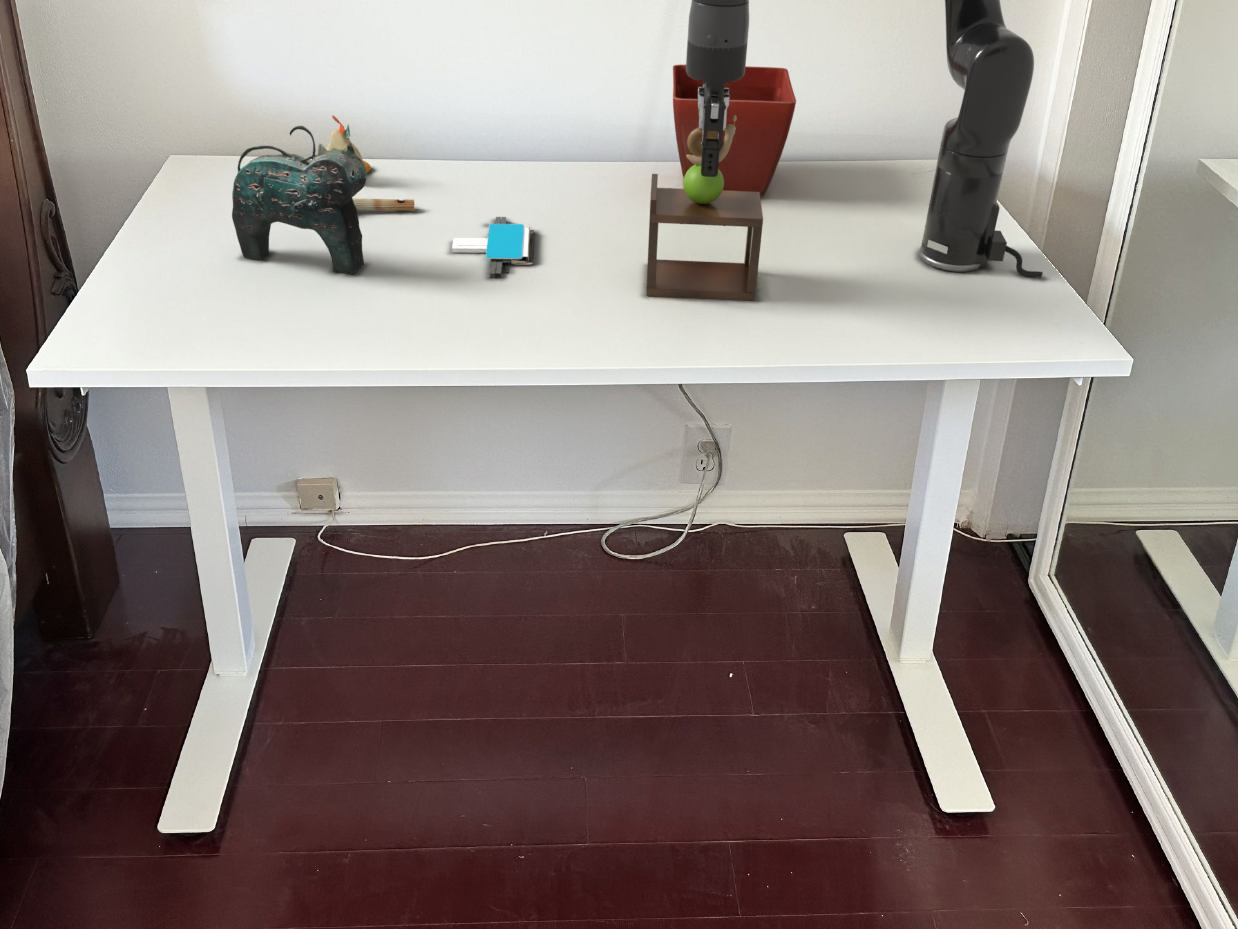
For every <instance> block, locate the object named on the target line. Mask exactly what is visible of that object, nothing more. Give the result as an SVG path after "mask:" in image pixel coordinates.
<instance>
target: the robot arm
mask: <svg viewBox="0 0 1238 929" xmlns="http://www.w3.org/2000/svg"><path fill="white" fill-rule="evenodd" d="M689 8H690V9H689V14H688V26H687V27H688V28H687V41H686V42H687V44H686V58H685V59H686V60H685V65H686V73H687V75H688V76H689V77H691V78H693V79H695V80H698V81H700V80H701V81H703V87H698V107H699V129H700V130H701V131H702V132H703V133H702V142H701V146H702V161H701V175H702V176H704V177H716V176H717V175H718V165H719V152H720V149H722V146H723V142H722V137H723V131H724V130H725V128H726V117H727V108H728V106H729V96H730V95H729V88H724V85H725V84H726V83H728V82H735V81H738V80H740V79H741V78H742V77H743V76H744V74H745V66H746V65H747V52H748V42H749V41H748V40H749V29H750V0H691V4H690V7H689ZM944 11H945V12H944V14H945V16H944V17H945V42H946V43H945V51H946V53H945V54H946V64H947V69H948V71H949V74H950V77H951V78H952V80H953V81H954V83H955V84H956V85H957V86H958V87H959V88H961V89H962V90H964V92H963V95H962V100H961V105H960V108H959V112H958V115H957V116H956V117H953V118H951V119H950V120H948V121H946V123H945V124H944V127H943V130H942V133H941V140H940V145H939V150H938V154H937V155H938V156H937V161H936V165H935V170H934V171H935V172H934V177H933V182H932V188H931V193H930V199H929V204H928V207H927V208H928V209H927V213H926V214H927V215H926V220H925V224H924V229H923V234H922V235H923V236H922V239H921V245H920V248H919V254H918V255H919V258H920V260H921V261H922V262H923V263H925V264H927V265H929V266H931V267H934V268H936V269H938V270H939V269H940V270H943V271H949V272H958V273H959V272H961V273H962V272H972V271H975V270H978V269H987V267H988V262H1003V261H1004V258H1005V254H1006V253H1008V254H1009V255H1012V256H1013V257H1014V259H1015V260H1016V263H1015V269H1016V271H1017V273H1018V274H1019V275H1021V276H1023V277H1027V278H1043V274H1044V272H1043V271H1039V270H1037V271H1036V270H1035V271H1033V270H1026V269H1024V268H1023V257H1022V255H1021V254H1020V253H1019V251H1017V250H1016V249H1014V248H1013V247H1010V246H1009V245H1008V242H1007V240H1006V238H1005V236H1004V235H1003V233H1002V231H1001V230H996V226H997V223H998V217H999V214H1000V210H1001V209H1000V208H1001V207H1000V205H999V204H998V198H999V193H1000V188H1001V183H1002V179H1003V174H1004V172H1005V171H1004V170H1005V165H1006V160H1007V156H1008V153H1009V152H1008V151H1009V148H1010V144H1011V141H1012V139H1013V138H1014V136H1015V135H1016V134H1017V132H1018V130H1019V128H1020V125H1021V122H1022V119H1023V115H1024V111H1025V108H1026V104H1027V101H1028V96H1029V94H1030V89H1031V87H1032V86H1031V85H1032V81H1033V78H1034V70H1035V57H1034V56H1035V55H1034V51H1033V49H1032V47H1031V45H1030V44H1029V42H1028V41H1027V40H1025V38H1023V37H1021V36H1020V35H1018V34H1017V33H1015V32H1013V31H1012V30H1010V29H1008V27H1007V26H1006V24H1005V20H1004V16H1003V11H1002V6H1001V0H944ZM708 131H716V132H717V133H718V138H717V139H707V132H708Z"/></svg>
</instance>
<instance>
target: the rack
mask: <svg viewBox="0 0 1238 929" xmlns="http://www.w3.org/2000/svg"><path fill="white" fill-rule="evenodd" d="M658 176H659V174H658V173H651V186H650V198H649V199H650V200H649V202H650V203H649V220H648V221H649V222H648V224H649V226H648V242H647V243H648V246H647V266H646V267H647V271H646V272H647V274H646V289H645V290H646V293H645V295H646V297H662V298H683V299H684V298H685V299H687V298H688V299H710V300H731V301H752V302H753V301H756V293H757V284H758V274H759V263H760V255H761V254H760V253H761V244H762V236H763V225H764V216H763V208H762V201H761V196H760V193H759V192H748V191H724V190H723V191H722V193H721V194H720V196H719V197H718V198H717V199H716V200H715V201H713V202H711V203H708V204H699V203H696V202H694V201H692V200H691V199H690V198H689V197H688V196H687V195H686V193H685V190H684V188H674V187H658V179H659V178H658ZM659 224H673V225H694V226H695V225H696V226H697V225H698V226H719V227H720V226H721V227H743V228H744V227H745V228H747V229H746V238H745V249H744V261H743V262H724V261H721V262H720V261H702V260H701V261H700V260H681V259H679V260H677V259H658V242H659V241H658V238H659Z"/></svg>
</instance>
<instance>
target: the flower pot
mask: <svg viewBox="0 0 1238 929" xmlns="http://www.w3.org/2000/svg"><path fill="white" fill-rule="evenodd" d="M698 87H703V81H701V80H700V81H698V80H695V79H693V78H691V77H689V76H688V75H687V73H686V64H674V65H673V66H672V108H673V110H672V112H673V121H674V132H675V140H676V145H677V153H678V158H679V163H680V168H681V173H682V177H683V178H684V177H685V174H686V172H687V171H688V170H689V169H690V168H691V167H692V166H693V165H695V164H693V163H692V162H691V161H690V160H689V159H688V158H687V155H688V154H689V155H693V154H692V153H691V152H690V150H689V149H688V145H687V140H688V137H689V135H690V133H691V132H692V131H693V130H694V129H696V128H698V127H699V107H698ZM724 88H729V95H730V96H729V106H728V108H727V117H726V126H727V125H729V124H732V125H734V121H733V116H734V115H735V116H736V121H735V125H734V126H735V127H736V130H735V134H734V136H733V139H732V143H731V146H730V149H729V151H728V153H727V155H726V156H725V158H724V159H723V160H722V161H720V162H719V165H718V169H719V170H720V171H721V173H722V175H723V179H724V187H723V190H724V191H748V192H759V193H760V197H764V196H765V195H766V193H767V191H768V188H769V187H770V185H771V182H772V180H773V178H774V175H775V173H776V170H777V168H778V166H779V163H780V161H781V157H782V154H783V151H784V149H785V146H786V141H787V139H788V136H789V132H790V129H791V126H792V125H791V124H792V121H793V117H794V114H795V110H796V104H797V99H796V96H795V92H794V88H793V85H792V82H791V77H790V72H789V70H788V69H787V68H784V67H775V66H774V67H772V66H745V74H744V76H743V77H742V78H741V79H740V80H738V81H735V82H728V83H726V84H725V85H724ZM724 137H725V130H724V131H723V137H722V142H723V140H724Z"/></svg>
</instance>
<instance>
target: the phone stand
mask: <svg viewBox="0 0 1238 929" xmlns="http://www.w3.org/2000/svg"><path fill="white" fill-rule="evenodd" d="M534 252H535V229H533V228H531V226H530V225H528V226H525V225H524V224H523V223H507V216H495V222H494V223H490V224H489V225H488V233H487V237H486V238H485V237H483V238H482V237H474V238H473V237H454V238H453V240H452V245H451V253H469V254H470V253H471V254H472V253H475V254H476V253H477V254H478V253H480V254H484V253H485V259H486V260H490V266H489V267H490V268H489V269H490V270H489V278H501V277H502V274H509V272H510V266H534V254H535V253H534Z"/></svg>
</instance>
